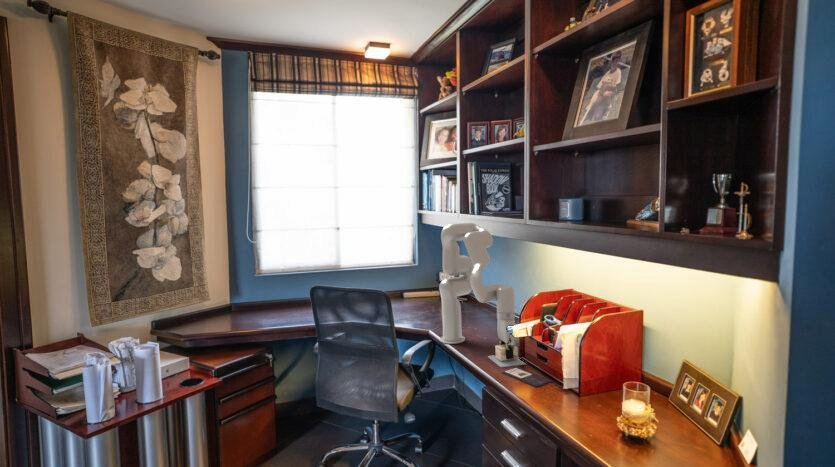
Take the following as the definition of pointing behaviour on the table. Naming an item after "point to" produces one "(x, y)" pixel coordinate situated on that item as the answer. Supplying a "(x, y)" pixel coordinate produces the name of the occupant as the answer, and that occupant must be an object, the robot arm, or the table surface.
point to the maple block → (501, 352)
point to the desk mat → (506, 361)
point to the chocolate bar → (527, 377)
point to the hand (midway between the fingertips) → (506, 355)
